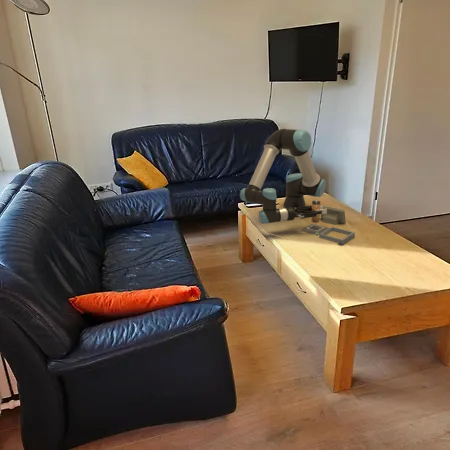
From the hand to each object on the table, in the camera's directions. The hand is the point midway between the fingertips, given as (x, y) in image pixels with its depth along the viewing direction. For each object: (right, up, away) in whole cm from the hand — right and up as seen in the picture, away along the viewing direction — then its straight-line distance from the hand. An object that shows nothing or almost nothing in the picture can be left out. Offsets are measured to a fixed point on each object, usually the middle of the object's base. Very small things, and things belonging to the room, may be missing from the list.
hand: (324, 209), depth 228 cm
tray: (+5, -16, -7) cm, 18 cm away
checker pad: (-4, -12, +4) cm, 14 cm away
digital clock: (+8, -8, +15) cm, 19 cm away
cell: (-5, -7, +2) cm, 8 cm away
